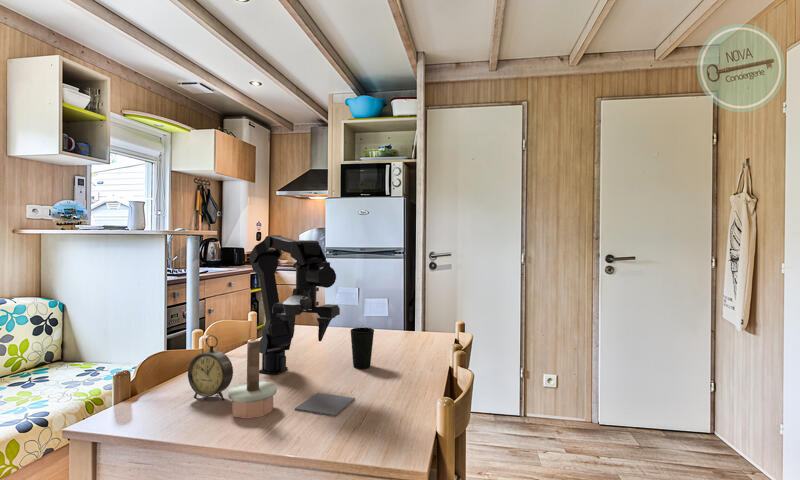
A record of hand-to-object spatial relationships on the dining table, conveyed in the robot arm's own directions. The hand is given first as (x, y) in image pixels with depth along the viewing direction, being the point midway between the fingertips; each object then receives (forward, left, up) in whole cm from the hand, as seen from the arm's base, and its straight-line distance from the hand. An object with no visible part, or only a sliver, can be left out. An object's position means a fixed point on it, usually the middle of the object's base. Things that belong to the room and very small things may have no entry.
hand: (305, 339), depth 118 cm
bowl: (-3, -19, -13) cm, 23 cm away
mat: (+12, -10, -13) cm, 20 cm away
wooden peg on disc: (-3, -19, -9) cm, 21 cm away
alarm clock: (-18, -16, -13) cm, 27 cm away
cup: (+8, +22, -13) cm, 27 cm away
